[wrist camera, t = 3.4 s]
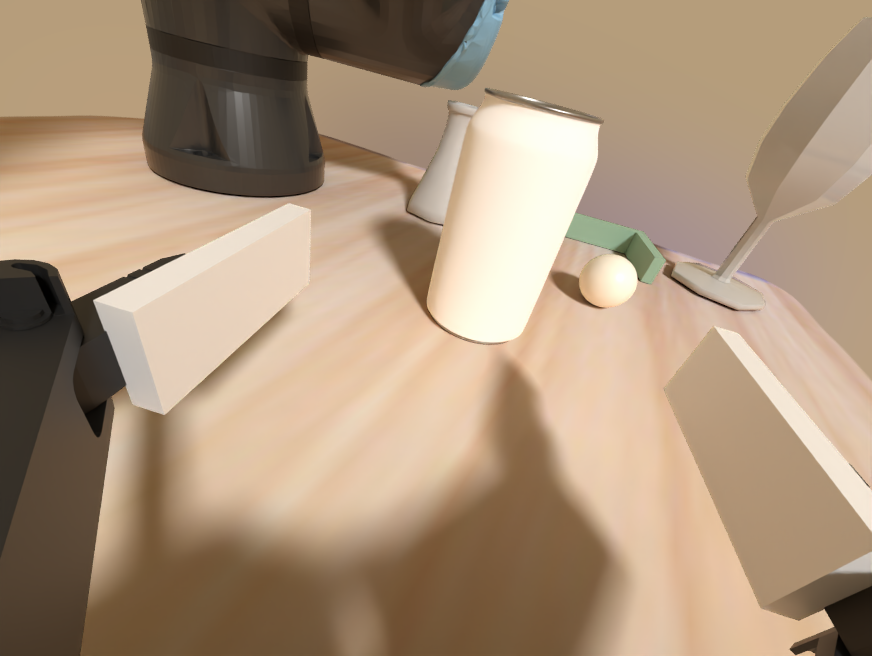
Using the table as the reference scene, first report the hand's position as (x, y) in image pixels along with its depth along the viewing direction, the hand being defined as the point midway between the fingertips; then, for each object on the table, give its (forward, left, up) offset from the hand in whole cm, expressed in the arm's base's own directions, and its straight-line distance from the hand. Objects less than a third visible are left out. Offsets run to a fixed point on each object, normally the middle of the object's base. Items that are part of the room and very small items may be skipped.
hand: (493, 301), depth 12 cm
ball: (-2, +19, -5) cm, 19 cm away
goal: (-8, +28, -7) cm, 30 cm away
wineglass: (+3, +36, -7) cm, 37 cm away
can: (-6, +8, -7) cm, 12 cm away
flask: (-20, +19, -7) cm, 28 cm away
